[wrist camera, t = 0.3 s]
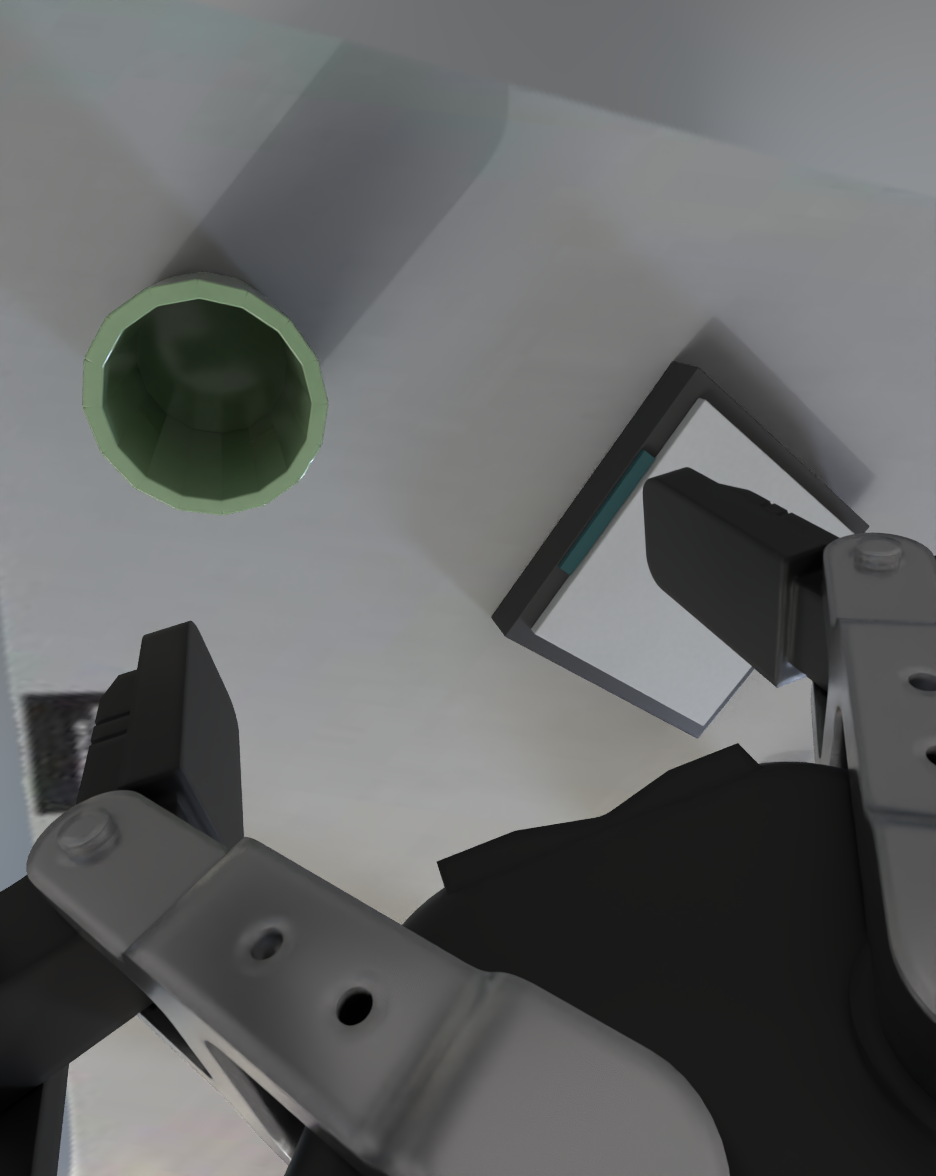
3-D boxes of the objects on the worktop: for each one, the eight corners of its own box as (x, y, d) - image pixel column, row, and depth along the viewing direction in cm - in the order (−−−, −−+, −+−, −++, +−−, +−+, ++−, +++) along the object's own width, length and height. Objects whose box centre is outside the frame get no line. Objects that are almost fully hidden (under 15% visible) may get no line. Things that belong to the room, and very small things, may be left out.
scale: (490, 617, 38) (508, 641, 36) (672, 360, 35) (705, 368, 33) (678, 718, 46) (703, 744, 43) (841, 514, 43) (878, 529, 40)
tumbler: (95, 384, 28) (39, 442, 20) (175, 234, 27) (154, 226, 18) (247, 468, 31) (257, 550, 23) (325, 337, 30) (368, 371, 21)
